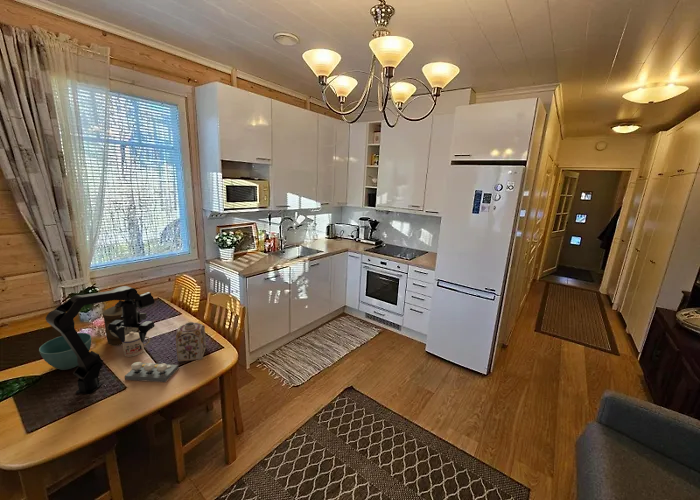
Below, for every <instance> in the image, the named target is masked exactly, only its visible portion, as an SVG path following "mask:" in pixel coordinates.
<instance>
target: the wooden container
mask: <svg viewBox="0 0 700 500" xmlns="http://www.w3.org/2000/svg"><path fill="white" fill-rule="evenodd" d="M116 304H117V303H115V304H114V306H111V307H108V308H107V309H105V310H104V311H103V312H102V316H103V321H104V329H105V336H106V342H107V344H108V345H110V346H115V347H116V346H123V344H122V341H121V339H120V338H119V337H118V336H117V335H116V334H115V333H113V332H111V330H108V325H109V324H110V323H112V322H113V321H115V320H123V319H122V318H121V316H122V307H119V306H116ZM124 332H125V335H127V334H129V333H130V332H134V333H136V332H139V329H138V328H129V327H125V329H124Z"/></svg>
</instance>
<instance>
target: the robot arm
mask: <svg viewBox="0 0 700 500" xmlns="http://www.w3.org/2000/svg"><path fill="white" fill-rule="evenodd" d="M110 301H118V302H116V303H115V304H116V306H119V307H122V316H121V318H122V319H123V320H115V321H113V322H112V323H110V324H109V325H108V330H111V332H113V333H115V334H116V335H117V336H118V337H119V338H120V339H121V340H122V341H123V342H124V341H125V332H124V329H125V327H129V328H138V329H139V332H138V333H139V336H140V339H141V342H142V343H143V344H144V342H145V340H146V338H145V337H146V336H147V333H148V332H149V331H150V330H152V329H153V328H154V327H155V325H156V324H155V322H154V321H148V320H147V321H144V322H142V321H143V320H146V319H147V316H148V315H147V312H140V311H138V308H139V309H140V310H141V309H144V308H148V307H151V306H152V305H153V306H154V304H155V299H154V296H153V295H152V293H151V292H150V291H148V292H145V293H142V294H139V293H138V291H137V289H136V288H134V287H131V286H128V285H122V286H119V287H115V288H114V289H111V290H108V291H107V290H106V291H101V292H94V293H85V294H81V295H79V294H77V295H73V296H71V297H69V299H68V300H66V301H65V302H63V303H61V304H60V305H58V306H57V307H56V308H55V309H54V310H51V311H50V312H48V314H47V315H46V316H45V321H46V323H48V324H49V325H50V326H51V327H52V328H54V329H55V330H56V331H58V332H59V333H60V334H61V336H63V337H64V339H65V340H66V342H67V343H68V344H69V346H70V347H71V349H72V350H73V352H74V353H75V355H76V356H77V363H78V366H76V368H75V370H74V371H73V373H72V374H73V375H74V376H75V377H76V378H78V380H76V382H77V387H78V390H76V391H75V393H76V394H80V395H81V394H83V395H86V394H87V395H91V394H92V393H93V392H95V390H97V389H98V388H100V387H101V386H102V385H103V383H102V382H100V378H99V377H100V376H99V375H100V373H101V369H102V367H103V366H104V365H103V362H104V360H103V359H102V358H101V356H100V354H99V353H96V352H95V351H93V350H88V348H87V347H86V345H85V344H84V342H83V341H82V339H81V338H80V336H79V335H78V333H79V332H77V330H76V328H75V321H74V319H75V318H77V316H78V315H79V313H80V311H81V310H82V308H83V307H84V306H87V305H92V304H93V305H94V304H100V303H104V302H110ZM141 322H142V323H141Z"/></svg>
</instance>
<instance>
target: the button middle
mask: <svg viewBox="0 0 700 500" xmlns="http://www.w3.org/2000/svg"><path fill="white" fill-rule="evenodd" d="M146 363H147V364H145V365H144V370H145V371H148V373H151V372H152V370H153V369H154V368H155V366H154V364H155V363H154V362H146Z"/></svg>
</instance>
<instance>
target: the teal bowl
mask: <svg viewBox="0 0 700 500" xmlns="http://www.w3.org/2000/svg"><path fill="white" fill-rule="evenodd" d="M77 333H78V335H79V336H80V338H81V339H82V341H83V342H84V344H85V345H86V347H87V348H88V350H89V351H91V346H92V335H91V334H90V333H87V332H77ZM38 352H39V354H40V356H41V357H42V359H43V361H45V362H46V363H47V364H48V365H50V366H51V367H52V368H55V369H58V370H62V371H63V370H64V371H65V370H66V371H67V370H72V369H73V368H77V367H78V366H79V365H78V363H77V356H76V355H75V353H74V352H73V350H72V349H71V347H70V346H69V344H68V343H67V342H66V340H65V339H64V337H63V336H62V335H61V336H57V337H55V338H53V339H52V338H51V339H50V340H47V341H46V342H45V343H43V344H42V345H40V347H39V349H38Z"/></svg>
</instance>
